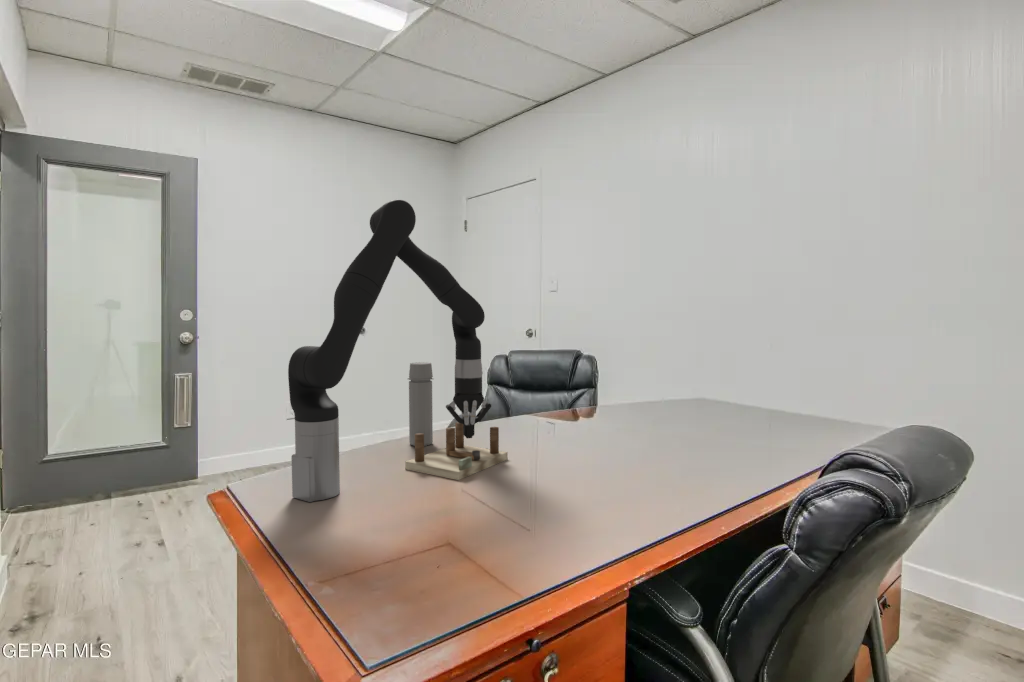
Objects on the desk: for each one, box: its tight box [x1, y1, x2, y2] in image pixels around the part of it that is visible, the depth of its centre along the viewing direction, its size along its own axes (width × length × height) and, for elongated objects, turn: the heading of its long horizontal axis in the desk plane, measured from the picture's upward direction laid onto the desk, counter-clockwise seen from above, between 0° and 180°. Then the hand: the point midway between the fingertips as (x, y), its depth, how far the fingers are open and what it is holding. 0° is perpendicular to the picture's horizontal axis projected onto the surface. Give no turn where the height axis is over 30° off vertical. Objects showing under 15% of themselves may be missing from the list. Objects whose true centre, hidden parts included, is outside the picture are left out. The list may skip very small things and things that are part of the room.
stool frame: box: [404, 421, 509, 481], centre depth 148 cm, size 22×17×9 cm
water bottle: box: [407, 361, 434, 447], centre depth 170 cm, size 9×8×25 cm
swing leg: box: [445, 427, 480, 460], centre depth 147 cm, size 11×2×7 cm, turn 58°
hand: (468, 437), depth 153 cm, fingers closed
